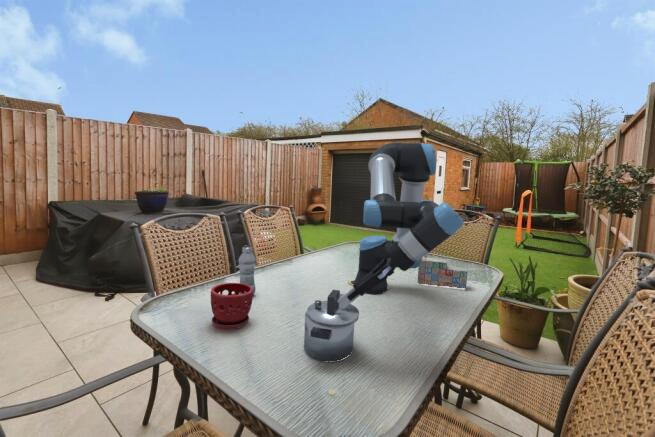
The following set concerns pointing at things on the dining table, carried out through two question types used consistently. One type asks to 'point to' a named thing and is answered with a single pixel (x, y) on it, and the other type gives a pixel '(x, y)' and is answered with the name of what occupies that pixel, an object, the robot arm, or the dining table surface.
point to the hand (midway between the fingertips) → (341, 303)
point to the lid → (332, 312)
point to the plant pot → (231, 305)
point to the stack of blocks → (441, 273)
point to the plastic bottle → (247, 267)
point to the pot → (327, 341)
